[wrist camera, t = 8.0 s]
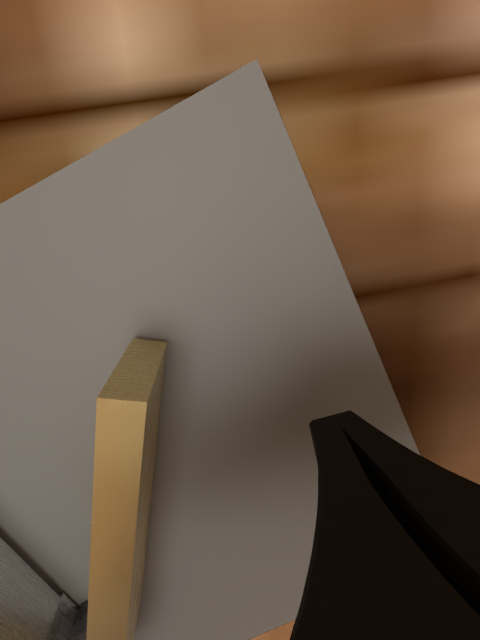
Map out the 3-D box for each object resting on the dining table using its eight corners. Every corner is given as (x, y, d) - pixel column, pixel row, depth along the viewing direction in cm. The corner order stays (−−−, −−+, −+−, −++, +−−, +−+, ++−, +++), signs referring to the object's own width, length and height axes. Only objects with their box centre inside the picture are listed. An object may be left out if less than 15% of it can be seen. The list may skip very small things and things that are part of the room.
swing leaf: (167, 342, 11) (140, 421, 7) (136, 647, 14) (107, 816, 10) (77, 331, 10) (-8, 409, 6) (69, 647, 14) (13, 820, 10)
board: (445, 530, 15) (458, 547, 15) (71, 697, 17) (64, 721, 16) (253, 70, 10) (257, 59, 9) (-293, 378, 11) (-331, 390, 10)
